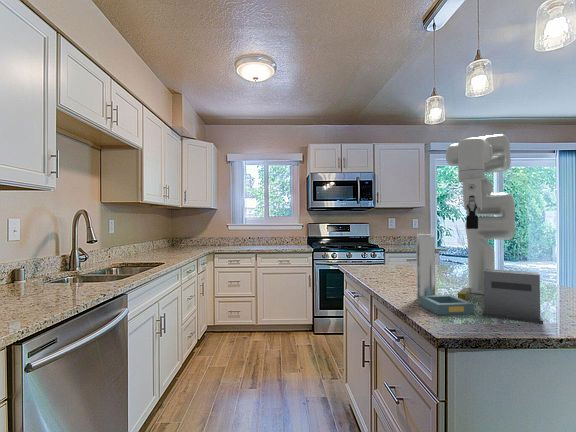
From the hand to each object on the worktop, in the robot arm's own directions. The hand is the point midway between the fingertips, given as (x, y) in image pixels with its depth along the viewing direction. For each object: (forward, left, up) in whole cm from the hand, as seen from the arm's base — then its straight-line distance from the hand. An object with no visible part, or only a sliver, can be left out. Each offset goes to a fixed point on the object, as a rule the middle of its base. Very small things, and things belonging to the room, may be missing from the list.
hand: (471, 228), depth 105 cm
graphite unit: (-8, +6, -28) cm, 29 cm away
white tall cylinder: (+7, -17, -28) cm, 33 cm away
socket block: (+8, -3, -28) cm, 29 cm away
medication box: (-7, -15, -28) cm, 32 cm away
